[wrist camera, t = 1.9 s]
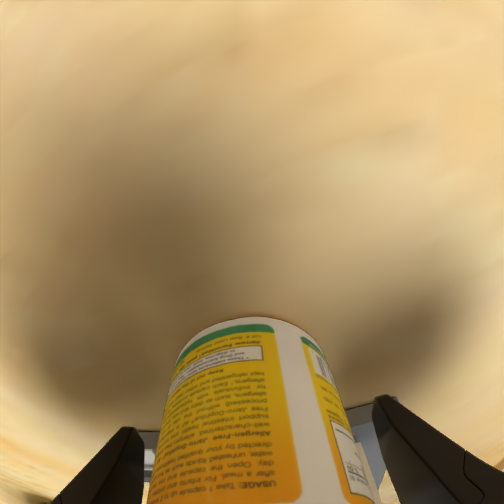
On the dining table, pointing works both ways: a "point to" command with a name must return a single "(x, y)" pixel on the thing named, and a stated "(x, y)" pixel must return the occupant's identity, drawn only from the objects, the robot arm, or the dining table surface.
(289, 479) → the supplement bottle
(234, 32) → the dining table surface
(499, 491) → the robot arm
